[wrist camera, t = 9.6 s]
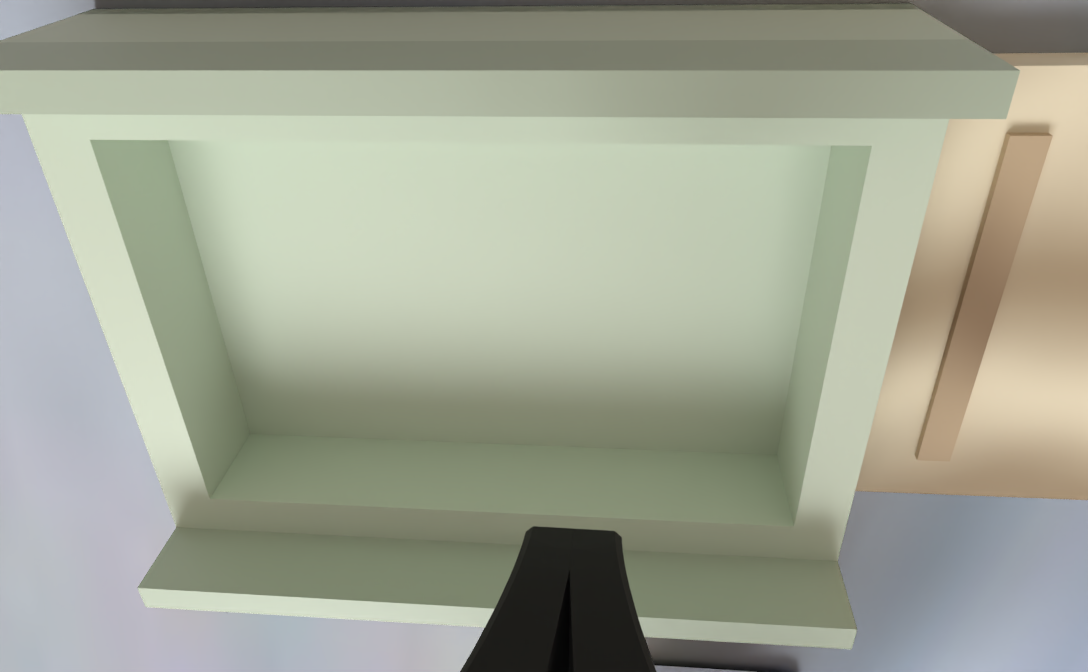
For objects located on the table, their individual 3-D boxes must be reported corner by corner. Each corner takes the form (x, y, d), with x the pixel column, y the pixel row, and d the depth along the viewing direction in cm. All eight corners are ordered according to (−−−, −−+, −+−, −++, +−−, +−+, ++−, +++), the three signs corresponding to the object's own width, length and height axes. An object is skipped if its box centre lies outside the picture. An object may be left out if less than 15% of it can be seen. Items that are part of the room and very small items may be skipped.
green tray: (808, 491, 23) (851, 649, 18) (232, 466, 24) (145, 606, 20) (910, 3, 16) (1020, 70, 11) (93, 9, 17) (-89, 70, 13)
